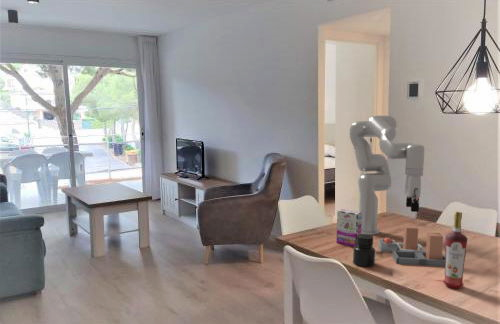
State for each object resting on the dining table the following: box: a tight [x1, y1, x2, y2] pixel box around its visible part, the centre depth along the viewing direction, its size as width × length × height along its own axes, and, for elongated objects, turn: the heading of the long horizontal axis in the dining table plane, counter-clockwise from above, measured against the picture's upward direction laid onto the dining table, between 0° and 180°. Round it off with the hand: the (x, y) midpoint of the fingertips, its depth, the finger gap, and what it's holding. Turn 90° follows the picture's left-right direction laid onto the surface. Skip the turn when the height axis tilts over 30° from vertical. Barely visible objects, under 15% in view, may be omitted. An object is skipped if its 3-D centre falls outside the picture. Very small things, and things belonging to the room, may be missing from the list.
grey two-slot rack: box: [391, 250, 445, 267], centre depth 182 cm, size 21×10×3 cm, turn 82°
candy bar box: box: [336, 209, 362, 248], centre depth 205 cm, size 11×5×16 cm, turn 47°
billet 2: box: [425, 231, 444, 260], centre depth 180 cm, size 5×5×12 cm
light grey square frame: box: [396, 242, 426, 252], centre depth 196 cm, size 11×11×2 cm
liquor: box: [442, 211, 469, 290], centre depth 156 cm, size 7×7×28 cm
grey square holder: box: [378, 238, 398, 254], centre depth 197 cm, size 7×7×4 cm
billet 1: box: [402, 224, 419, 250], centre depth 195 cm, size 5×5×12 cm
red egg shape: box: [384, 237, 392, 243], centre depth 197 cm, size 3×3×4 cm
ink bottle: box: [352, 234, 376, 268], centre depth 180 cm, size 10×9×12 cm
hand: (412, 209), depth 193 cm, fingers open, 9 cm apart
